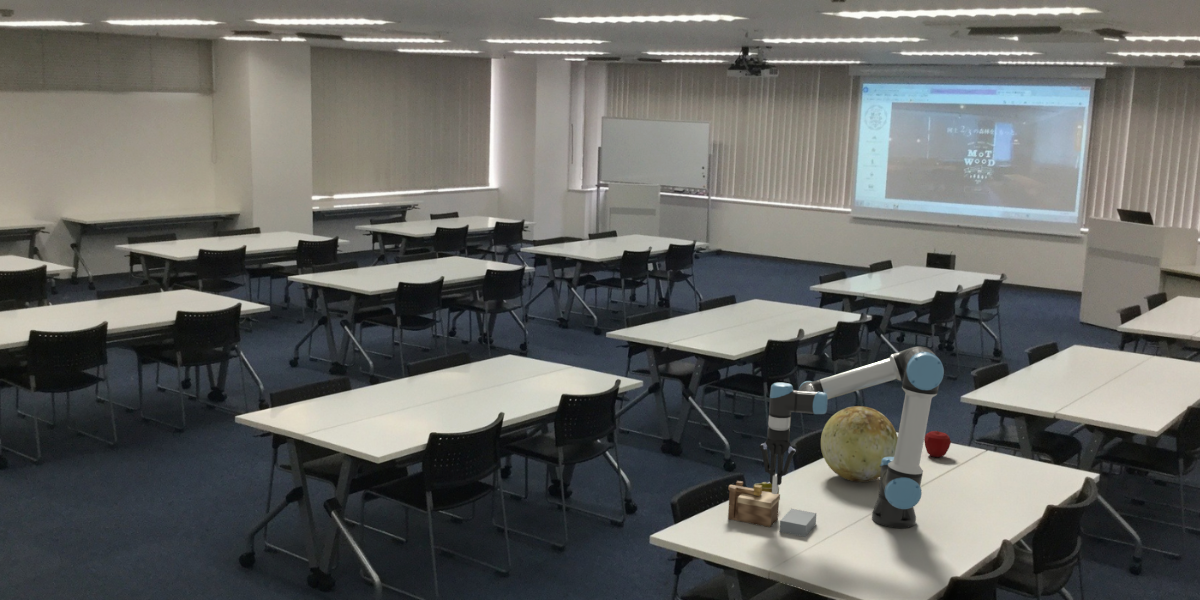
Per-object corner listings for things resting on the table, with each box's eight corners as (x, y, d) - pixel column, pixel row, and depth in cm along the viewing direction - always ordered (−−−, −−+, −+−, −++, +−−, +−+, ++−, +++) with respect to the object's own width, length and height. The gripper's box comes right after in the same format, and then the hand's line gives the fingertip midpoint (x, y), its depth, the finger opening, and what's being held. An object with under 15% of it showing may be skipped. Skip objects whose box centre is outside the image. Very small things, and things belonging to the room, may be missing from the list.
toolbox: (777, 519, 368) (779, 488, 367) (770, 527, 360) (772, 495, 359) (736, 511, 375) (737, 480, 373) (727, 519, 367) (729, 487, 365)
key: (761, 493, 366) (762, 485, 366) (759, 495, 364) (759, 487, 364) (730, 488, 371) (731, 480, 371) (728, 490, 369) (728, 482, 369)
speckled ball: (904, 478, 420) (910, 406, 416) (881, 497, 395) (887, 421, 391) (833, 464, 436) (838, 394, 432) (807, 482, 411) (812, 408, 407)
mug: (782, 508, 374) (775, 481, 375) (754, 514, 377) (748, 486, 378) (785, 503, 386) (778, 477, 387) (758, 509, 388) (751, 483, 390)
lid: (779, 502, 368) (780, 494, 368) (770, 511, 358) (770, 503, 358) (747, 496, 373) (747, 488, 373) (737, 505, 364) (737, 497, 363)
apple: (924, 459, 448) (926, 432, 446) (921, 452, 458) (923, 426, 456) (951, 461, 446) (953, 434, 444) (947, 454, 456) (949, 428, 455)
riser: (815, 524, 365) (816, 513, 364) (805, 536, 352) (805, 525, 352) (790, 519, 369) (791, 508, 368) (779, 531, 356) (780, 520, 356)
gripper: (800, 427, 360) (796, 493, 363) (764, 422, 365) (760, 486, 369) (794, 432, 353) (790, 499, 357) (757, 427, 359) (753, 492, 362)
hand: (774, 492), depth 363 cm, fingers closed
